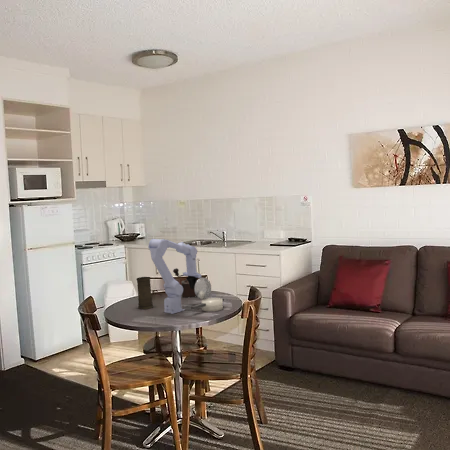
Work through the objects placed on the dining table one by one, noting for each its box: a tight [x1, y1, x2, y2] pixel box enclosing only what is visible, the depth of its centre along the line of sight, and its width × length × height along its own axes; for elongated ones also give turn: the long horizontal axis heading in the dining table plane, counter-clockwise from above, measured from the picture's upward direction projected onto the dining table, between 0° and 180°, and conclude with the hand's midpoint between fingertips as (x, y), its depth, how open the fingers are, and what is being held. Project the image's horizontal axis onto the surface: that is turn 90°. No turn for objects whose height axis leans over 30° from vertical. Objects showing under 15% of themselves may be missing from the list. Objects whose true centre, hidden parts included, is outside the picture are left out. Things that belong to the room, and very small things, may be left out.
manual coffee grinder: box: [172, 267, 196, 299], centre depth 319 cm, size 16×11×18 cm
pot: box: [190, 297, 225, 313], centre depth 278 cm, size 23×12×5 cm, turn 135°
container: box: [135, 276, 154, 310], centre depth 294 cm, size 9×9×18 cm
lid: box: [194, 277, 212, 300], centre depth 285 cm, size 12×12×2 cm
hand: (192, 288), depth 291 cm, fingers closed
